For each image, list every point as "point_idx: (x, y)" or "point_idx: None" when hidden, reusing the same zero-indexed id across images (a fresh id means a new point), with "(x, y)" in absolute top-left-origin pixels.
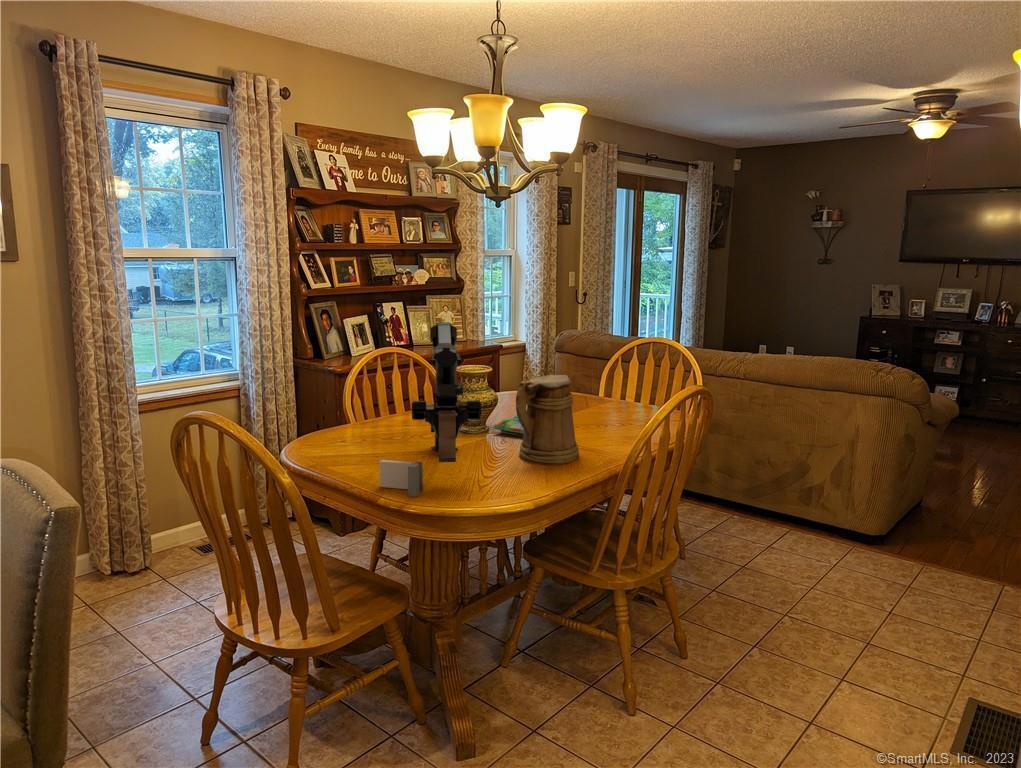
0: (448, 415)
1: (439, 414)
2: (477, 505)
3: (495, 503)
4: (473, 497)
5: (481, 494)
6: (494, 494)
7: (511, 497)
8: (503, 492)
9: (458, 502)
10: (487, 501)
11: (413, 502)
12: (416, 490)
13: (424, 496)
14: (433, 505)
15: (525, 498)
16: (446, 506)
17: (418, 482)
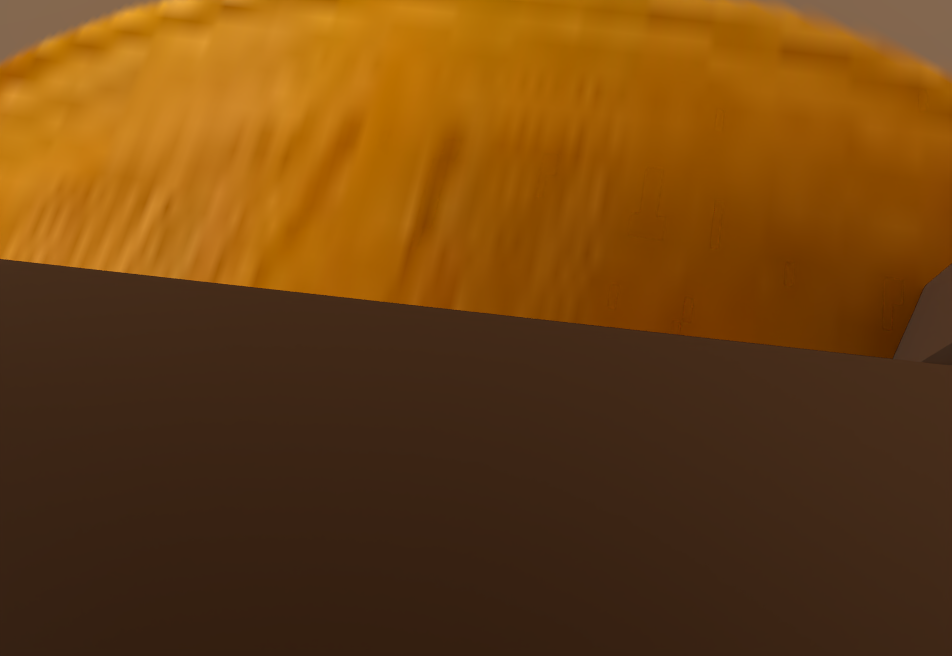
0: (331, 309)
1: (939, 426)
2: (411, 25)
3: (268, 47)
4: (398, 195)
5: (314, 253)
6: (213, 235)
7: (112, 149)
8: (128, 268)
9: (544, 103)
10: (314, 94)
11: (947, 157)
12: (935, 293)
13: (833, 290)
14: (765, 66)
15: (25, 115)
16: (657, 33)
17: (936, 332)
